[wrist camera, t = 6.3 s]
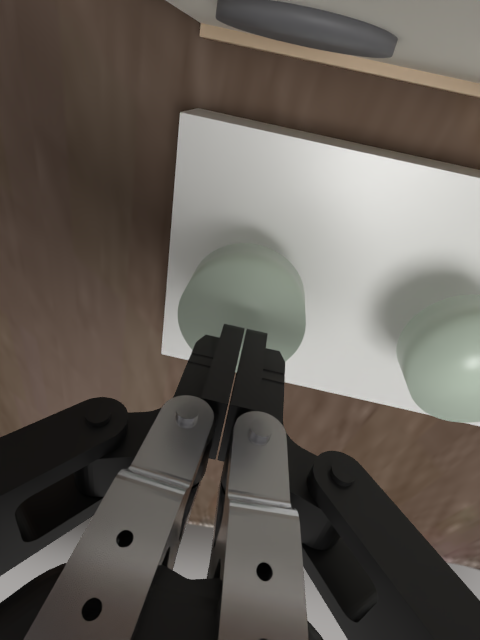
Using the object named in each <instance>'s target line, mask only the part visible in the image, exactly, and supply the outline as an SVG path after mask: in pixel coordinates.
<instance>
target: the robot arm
mask: <svg viewBox="0 0 480 640" xmlns="http://www.w3.org/2000/svg"><path fill="white" fill-rule="evenodd" d="M244 330H245V328H242V327H237V326H233V325H229V324H224V325H223V329H222V332H221V335H220V338H219V337H215V336H210V335H204V336H203V337H202V338H200V339H199V340H198V341H197V342H196V343H195V345H194V348H193V350H192V353H191V355H190V358H189V360H188V363H187V365H186V368H185V370H184V373H183V375H182V378H181V380H180V383H179V385H178V387H177V390H176V392H175V395H174V397H173V398H172V399H170V400H169V401H167V402H166V403H165V404H164V405H163V407H162V408H160V409H157V410H154V411H150V412H134V413H128V412H127V410H126V408H125V406H124V405H123V404H122V403H120V402H119V401H117V400H115V399H112V398H106V397H98V398H92V399H89V400H86V401H83V402H81V403H79V404H77V405H74V406H72V407H70V408H67V409H65V410H63V411H60V412H58V413H56V414H53V415H51V416H49V417H46V418H44V419H42V420H40V421H37V422H35V423H33V424H30V425H28V426H26V427H23V428H21V429H19V430H16V431H14V432H12V433H10V434H7V435H5V436H3V437H0V576H1V575H3V574H4V573H6V572H7V571H9V570H10V569H12V568H13V567H15V566H16V565H18V564H19V563H21V562H23V561H24V560H26V559H27V558H29V557H30V556H32V555H33V554H35V553H36V552H38V551H39V550H41V549H43V548H44V547H46V546H47V545H49V544H50V543H52V542H53V541H55V540H56V539H58V538H59V537H61V536H62V535H64V534H66V533H67V532H69V531H70V530H72V529H73V528H75V527H76V526H78V525H79V524H81V523H82V522H84V521H86V520H87V519H89V518H90V517H92V516H93V515H94V516H93V517H92V519H91V521H90V523H89V525H88V526H87V528H86V530H85V532H84V533H83V535H82V537H81V539H80V541H79V542H78V544H77V546H76V548H75V549H74V551H73V553H72V555H71V556H70V558H69V560H68V562H67V563H65V564H62V565H59V566H57V567H55V568H53V569H50V570H48V571H46V572H45V573H43V574H41V575H39V576H38V577H36V578H34V579H33V580H31V581H30V582H28V583H27V584H26V585H24V586H23V587H22V588H20V589H19V590H17V591H16V592H15V593H13V594H12V595H11V596H9V597H8V598H7V599H5V600H4V601H2V602H1V603H0V640H323V639H322V637H321V635H320V634H319V633H318V632H317V631H316V630H315V628H314V627H313V626H312V625H311V624H310V623H309V622H308V621H307V612H306V599H305V585H304V571H303V567H304V568H305V570H306V572H307V573H308V575H309V577H310V578H311V580H312V581H313V583H314V585H315V586H316V588H317V590H318V591H319V593H320V595H321V596H322V598H323V599H324V601H325V603H326V604H327V606H328V608H329V609H330V611H331V612H332V614H333V616H334V618H335V619H336V621H337V622H338V624H339V626H340V627H341V629H342V631H343V632H344V634H345V635H346V637H347V639H348V640H480V601H479V600H478V598H477V597H476V596H475V595H474V594H473V593H472V591H470V589H469V588H468V587H467V586H466V585H465V584H464V582H463V581H462V580H461V579H460V578H459V577H458V576H457V574H456V573H455V572H454V571H453V570H452V569H451V568H450V566H449V565H448V564H447V563H446V562H445V561H444V560H443V558H442V557H441V556H440V555H439V554H438V553H437V552H436V550H435V549H434V548H433V547H432V546H431V545H430V544H429V542H428V541H427V540H426V539H425V538H424V537H423V536H422V534H421V533H420V532H419V531H418V530H417V529H416V528H415V526H414V525H413V524H412V523H411V522H410V521H409V520H408V518H407V517H406V516H405V515H404V514H403V513H402V512H401V510H400V509H399V508H398V507H397V506H396V505H395V504H394V502H393V501H392V500H391V499H390V498H389V497H388V496H387V494H386V493H385V492H384V491H383V490H382V489H381V488H380V487H379V485H378V484H377V483H376V482H375V481H374V480H373V479H372V477H371V476H370V475H369V474H368V473H367V472H366V471H365V469H364V468H363V467H362V466H361V465H360V464H359V463H358V462H357V461H356V460H355V459H353V458H352V457H350V456H349V455H346V454H344V453H341V452H337V451H327V452H324V453H322V454H320V455H319V456H316V455H314V454H312V453H310V452H308V451H307V450H305V449H303V448H301V447H300V446H298V445H297V444H296V443H294V442H293V441H292V440H291V439H290V437H289V436H288V435H287V433H286V431H285V429H284V426H283V402H284V381H285V376H284V375H285V361H284V359H283V357H282V355H281V353H280V351H277V350H272V349H268V348H266V343H267V333H264V332H260V331H255V330H251V329H247V330H246V334H245V338H244V343H243V347H242V351H241V356H240V360H239V364H238V369H237V373H236V378H235V382H234V387H233V391H232V396H231V401H230V405H229V410H228V414H227V419H226V424H225V428H224V433H223V437H222V442H221V447H220V451H219V456H218V460H220V461H224V466H223V471H222V476H221V480H220V484H219V489H218V497H217V506H216V514H215V523H214V531H213V540H212V549H211V556H210V563H209V568H208V574H207V579H196V580H190V579H187V578H185V577H183V576H181V575H179V574H178V573H176V572H174V571H173V567H174V564H175V560H176V556H177V553H178V549H179V546H180V543H181V540H182V537H183V534H184V531H185V528H186V525H187V522H188V519H189V516H190V513H191V510H192V507H193V504H194V501H195V498H196V495H197V492H198V489H199V486H200V483H201V480H202V478H203V476H204V474H205V471H206V467H207V463H208V459H209V458H210V459H216V454H217V450H218V446H219V441H220V437H221V432H222V428H223V424H224V419H225V415H226V410H227V406H228V402H229V397H230V393H231V388H232V384H233V379H234V375H235V370H236V366H237V361H238V357H239V352H240V348H241V343H242V339H243V334H244Z"/></svg>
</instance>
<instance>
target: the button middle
mask: <svg viewBox="0 0 480 640" xmlns="http://www.w3.org/2000/svg"><path fill="white" fill-rule="evenodd" d="M396 352H397V359H398V362H399V365H400V368H401V370H402V373H403V376H404V379H405V381H406V384H407V387H408V390H409V392H410V395H411V397H412V399H413V400H414V402H415V403H416V404H417V405H418V406H419V407H420V408H421V409H422V410H423V411H425V412H426V413H428V414H430V415H432V416H434V417H436V418H439V419H443V420H446V421H452V422H480V295H474V294H471V295H460V296H454V297H451V298H447V299H444V300H441V301H438V302H436V303H434V304H432V305H430V306H428V307H426V308H425V309H423V310H422V311H420V312H419V313H418V314H416V315H415V316H414V317H413V318H412V319H411V320H410V321H409V322H408V323H407V325H406V326H405V327H404V329H403V331H402V332H401V334H400V337H399V339H398V343H397V350H396Z"/></svg>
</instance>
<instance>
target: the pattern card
mask: <svg viewBox="0 0 480 640" xmlns="http://www.w3.org/2000/svg"><path fill="white" fill-rule="evenodd" d="M166 1H167V2H169V3H170V4H172V5H173V6H175V7H176V8H178V9H180V10H181V11H183V12H184V13H186V14H187V15H189V16H190V17H192V18H194V19H195V20H197V21H198V22H200V23H201V26H200V37H202V38H204V39H208V40H213V41H217V42H222V43H226V44H231V45H236V46H240V47H245V48H249V49H254V50H259V51H263V52H268V53H272V54H277V55H282V56H286V57H291V58H295V59H300V60H305V61H309V62H314V63H318V64H323V65H328V66H332V67H337V68H341V69H346V70H351V71H355V72H360V73H364V74H369V75H373V76H378V77H383V78H387V79H392V80H396V81H401V82H406V83H410V84H415V85H419V86H424V87H429V88H433V89H438V90H442V91H447V92H452V93H456V94H461V95H465V96H470V97H475V98H479V99H480V0H166Z"/></svg>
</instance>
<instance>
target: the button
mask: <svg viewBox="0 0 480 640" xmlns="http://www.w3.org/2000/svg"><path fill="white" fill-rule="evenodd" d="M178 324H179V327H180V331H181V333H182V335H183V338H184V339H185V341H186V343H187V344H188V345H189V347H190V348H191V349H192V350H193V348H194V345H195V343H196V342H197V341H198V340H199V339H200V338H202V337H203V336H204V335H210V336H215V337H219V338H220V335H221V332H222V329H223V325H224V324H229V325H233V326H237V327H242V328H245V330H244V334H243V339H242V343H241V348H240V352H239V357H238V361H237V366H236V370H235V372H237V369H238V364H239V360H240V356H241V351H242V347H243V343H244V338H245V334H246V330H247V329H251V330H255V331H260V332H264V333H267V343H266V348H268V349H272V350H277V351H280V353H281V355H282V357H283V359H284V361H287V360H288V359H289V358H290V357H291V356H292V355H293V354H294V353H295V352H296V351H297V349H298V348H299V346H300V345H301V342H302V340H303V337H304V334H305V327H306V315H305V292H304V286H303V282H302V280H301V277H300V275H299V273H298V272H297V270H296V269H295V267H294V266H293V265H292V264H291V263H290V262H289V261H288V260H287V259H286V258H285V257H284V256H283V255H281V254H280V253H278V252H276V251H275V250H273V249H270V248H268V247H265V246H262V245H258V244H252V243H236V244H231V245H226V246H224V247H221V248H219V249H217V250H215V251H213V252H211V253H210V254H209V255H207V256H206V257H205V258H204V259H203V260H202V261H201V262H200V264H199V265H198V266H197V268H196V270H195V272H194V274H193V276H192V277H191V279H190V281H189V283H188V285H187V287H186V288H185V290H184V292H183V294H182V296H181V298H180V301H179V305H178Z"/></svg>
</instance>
